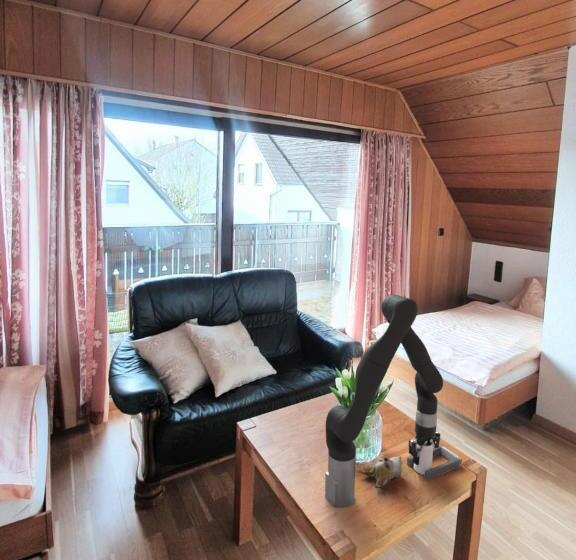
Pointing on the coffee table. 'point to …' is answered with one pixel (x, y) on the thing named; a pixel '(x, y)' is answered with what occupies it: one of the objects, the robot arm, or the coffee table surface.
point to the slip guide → (452, 464)
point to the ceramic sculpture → (384, 470)
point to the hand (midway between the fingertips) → (423, 461)
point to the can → (424, 459)
